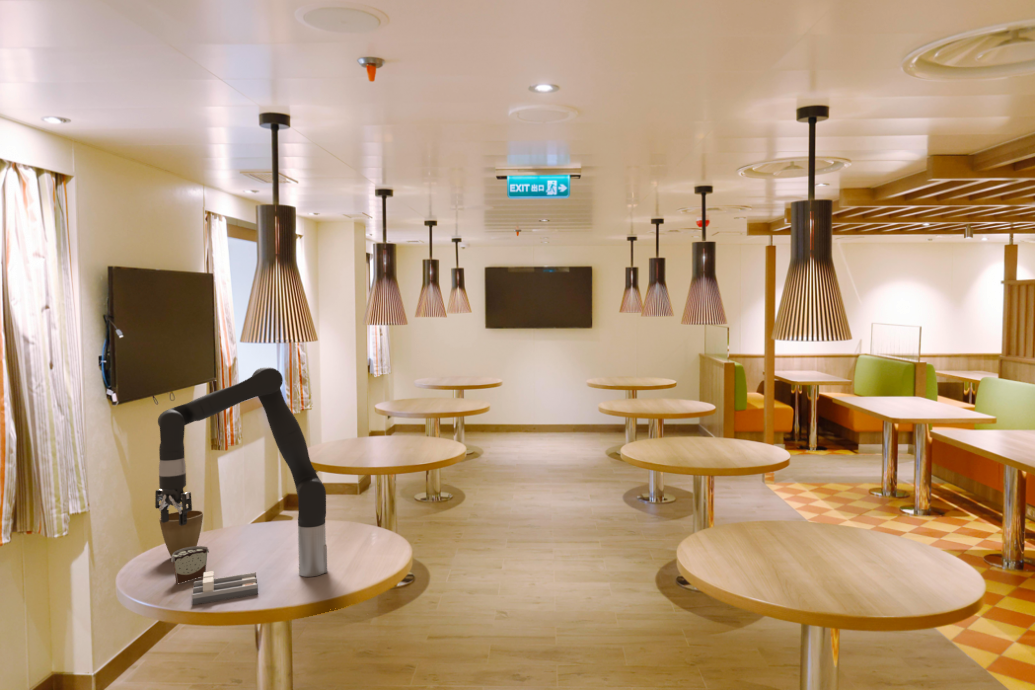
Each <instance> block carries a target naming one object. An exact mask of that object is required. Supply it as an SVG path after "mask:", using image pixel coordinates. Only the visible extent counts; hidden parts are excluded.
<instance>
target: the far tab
mask: <svg viewBox="0 0 1035 690" xmlns="http://www.w3.org/2000/svg"><path fill="white" fill-rule="evenodd" d="M214 571H215V570H211V571H210V570H209V571H206V572H204V575H203V577H202V579H203V578H208V577H214V578H215V572H214Z"/></svg>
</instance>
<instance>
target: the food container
mask: <svg viewBox="0 0 1035 690" xmlns="http://www.w3.org/2000/svg"><path fill="white" fill-rule="evenodd" d="M208 553H210V549H209V547H208V546H205V545H204V546H203V545H202V546H201V545H199V546H194V547H188V548H183V549H180V550H177V551H175V552H174V553H173V555H172V558H170V562H171V563H173V570H174V576H175V584H176V583H177V584H178V583H181V584H183V583H182V582H185V581H188V580H191V581H193V580H192V579H195V578H198V577H202V578H203V575H204V572H207V561H208ZM198 579H199V578H198ZM195 580H196V579H195ZM188 582H189V581H188ZM185 583H186V582H185ZM177 584H176V585H177ZM178 585H179V584H178Z"/></svg>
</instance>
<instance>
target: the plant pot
mask: <svg viewBox="0 0 1035 690" xmlns="http://www.w3.org/2000/svg"><path fill="white" fill-rule="evenodd" d="M203 518H204V511H201V510H198V509H197V510H195V509H194V510H193V509H192V511H189V512H187V524H186V525H182V526H181V525H179V512H178V511H174V512H169V521H168V522H165V523H162V522H161V516H160V517H159V518H158V519H159V523H160V524H159V525H160V529H161V534H162V536H163V540H164V541H163V542H164V543H165V546H166V549H167V551H168V553H169V556H170V557H171V558H172V555H173V553H174V552H175V551H177V550H180V549H183V548H188V547H194V546H197V545H198V543H199V540H200V539H199V538H200V535H201V530H202V525H203ZM171 558H170V559H171Z"/></svg>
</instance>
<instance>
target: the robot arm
mask: <svg viewBox="0 0 1035 690" xmlns="http://www.w3.org/2000/svg"><path fill="white" fill-rule="evenodd" d="M283 381H284V379H283V375H282V373H281V372H280V371H279V370H278V369H276V368H274V367H269V366H268V367H267V366H266V367H260V368H258V369H256V370H255V371H254V372H253V373H252V375H251V376H250V377H248V378H247V379H245V380H243V381H241V382H239V383H237V384H233V385H230V386H228V387H225V388H222V389H219V390H218V389H217V390H215V391H213V392H210V393H207V394H205V395H203V396H199V397H198V398H195V399H193V400H192V401H188V402H187V403H183V404H181V405H178V406H174V407H171V408H168V409H166V410H165V411H163V412H161V414H159V415H158V417H157V418H158V419H157V424H158V427H159V435H160V436H159V437H160V438H159V439H160V443H159V447H158V448H159V449H158V450H159V463H158V480H159V481H158V484H159V485H158V486H159V487H158V488H159V489H156V490H155V494H154V495H155V498H154V499H155V500H154V501H155V502H154V504H155V505H154V507H155V509H158V510H159V512H160V517H161V522H162V523H165V522H168V521H169V513H170V512H169V511H170V510H169V508H170V506H173V508H174V509H176V510H177V512H179V525H181V526H182V525H186V524H187V512H189V511H192V510H193V505H192V504H193V502H192V492H190V491H187V492H185V491H184V488H185V487H186V486H187V470H186V469H187V468H186V467H187V466H186V460H185V443H184V439H185V429H186V428H185V426H186V425H189V424H191V423H194V422H199V421H203V420H206V419H208V418H210V417H212V416H215V415H218V413H221V412H224V411H225V410H228V409H230V408H231V407H234V406H235V405H238V404H241V403H243V402H247V401H249V400H252V399H254V398H258V400H259V401H260V403H261V405H262V407H263V410H264V413H265V415H266V419H267V422H268V425H269V427H270V430H271V433H272V436H273V439H274V441H275V443H276V446H277V448H278V450H279V452H280V455H281V457H282V458H283V460H284V461H285V464H286V465H287V466H288V468H289V470H290V473H291V475H292V479H293V481H294V482H293V483H294V486H295V489H296V494H297V497H298V498H297V499H298V500H297V503H298V505H297V506H298V511H297V512H298V513H297V514H298V517H297V536H298V538H297V542H298V543H297V544H298V575H299V576H301V577H305V578H306V577H309V578H310V577H318V576H321V575H323V574H327V573H328V546H327V543H326V542H327V540H326V539H327V538H326V537H327V536H326V535H327V533H326V531H327V530H326V516H327V492H326V486H325V485H324V483H323V482H322V481H321V479H320V477H319V476H318V474H317V472H316V470H315V468H314V465H313V464H312V461H311V458H310V455H309V450H308V445H307V442H306V439H305V436H304V434H303V431H302V428H301V426H300V424H299V421H298V420H297V419H296V417H295V415H294V414H293V412H292V411H291V409H290V408H289V407H288V405H287V403H286V401H285V398H284V395H283V393H282V389H281V387H282V385H283Z"/></svg>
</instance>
